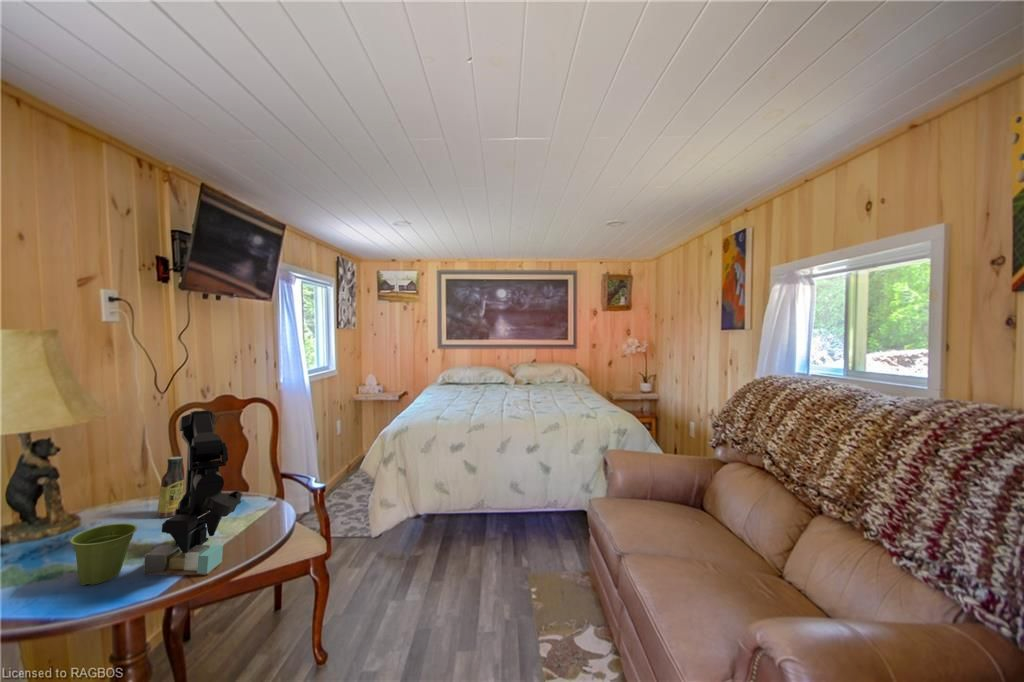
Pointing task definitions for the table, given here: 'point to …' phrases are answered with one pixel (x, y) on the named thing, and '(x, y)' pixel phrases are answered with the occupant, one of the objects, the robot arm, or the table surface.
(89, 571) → the plant pot
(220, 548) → the turquoise rectangular block
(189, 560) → the cream rectangular block
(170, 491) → the sauce bottle
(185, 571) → the board
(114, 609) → the table surface
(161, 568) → the dark grey cube
